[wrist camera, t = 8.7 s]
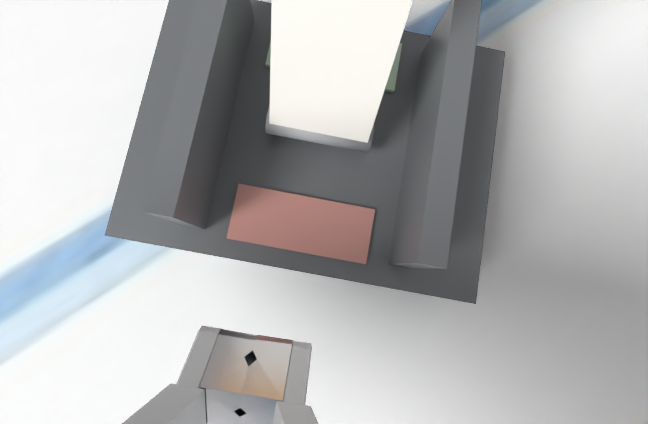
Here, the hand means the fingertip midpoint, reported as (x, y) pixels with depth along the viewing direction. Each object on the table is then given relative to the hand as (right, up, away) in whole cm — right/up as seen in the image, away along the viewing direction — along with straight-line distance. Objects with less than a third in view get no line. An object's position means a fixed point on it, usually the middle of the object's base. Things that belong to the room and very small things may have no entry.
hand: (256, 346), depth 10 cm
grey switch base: (+1, +6, +10) cm, 12 cm away
